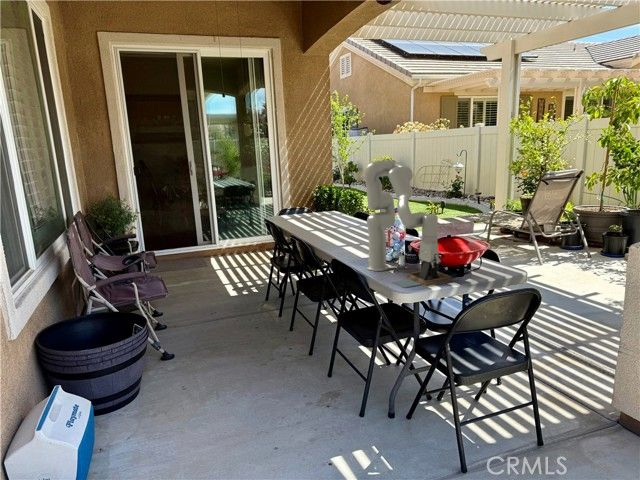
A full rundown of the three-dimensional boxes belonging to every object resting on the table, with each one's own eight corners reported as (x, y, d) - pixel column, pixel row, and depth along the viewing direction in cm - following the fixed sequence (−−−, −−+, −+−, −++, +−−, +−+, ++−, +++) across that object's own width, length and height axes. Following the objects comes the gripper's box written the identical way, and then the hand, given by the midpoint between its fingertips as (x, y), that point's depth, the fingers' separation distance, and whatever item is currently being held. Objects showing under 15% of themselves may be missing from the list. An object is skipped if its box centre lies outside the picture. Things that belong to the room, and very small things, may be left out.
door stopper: (423, 282, 222) (423, 259, 220) (418, 279, 228) (418, 256, 225) (439, 280, 224) (440, 257, 222) (433, 277, 230) (434, 255, 228)
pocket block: (406, 278, 230) (406, 273, 230) (431, 273, 236) (431, 269, 236) (425, 286, 216) (425, 281, 215) (451, 281, 222) (451, 276, 222)
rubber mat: (392, 282, 223) (392, 281, 223) (409, 279, 227) (409, 278, 227) (404, 288, 214) (404, 287, 214) (421, 285, 218) (421, 284, 218)
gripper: (413, 236, 228) (412, 269, 232) (434, 242, 212) (433, 278, 216) (424, 235, 231) (424, 267, 235) (447, 241, 215) (446, 276, 219)
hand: (428, 272), depth 225 cm, fingers open, 7 cm apart
